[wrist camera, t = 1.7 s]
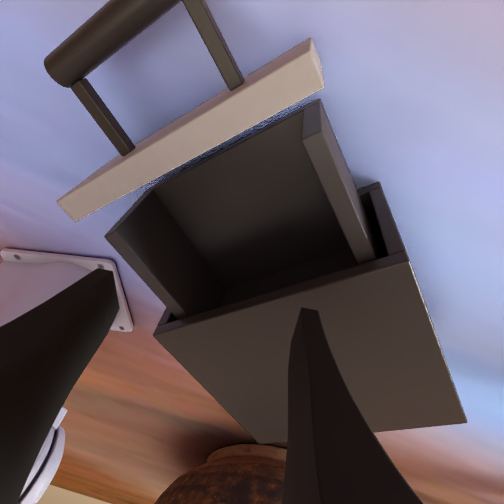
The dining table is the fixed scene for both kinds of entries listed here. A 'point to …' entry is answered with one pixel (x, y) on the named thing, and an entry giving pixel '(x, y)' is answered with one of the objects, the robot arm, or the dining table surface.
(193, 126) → the drawer
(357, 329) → the dark grey box
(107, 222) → the dining table surface
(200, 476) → the vessel
